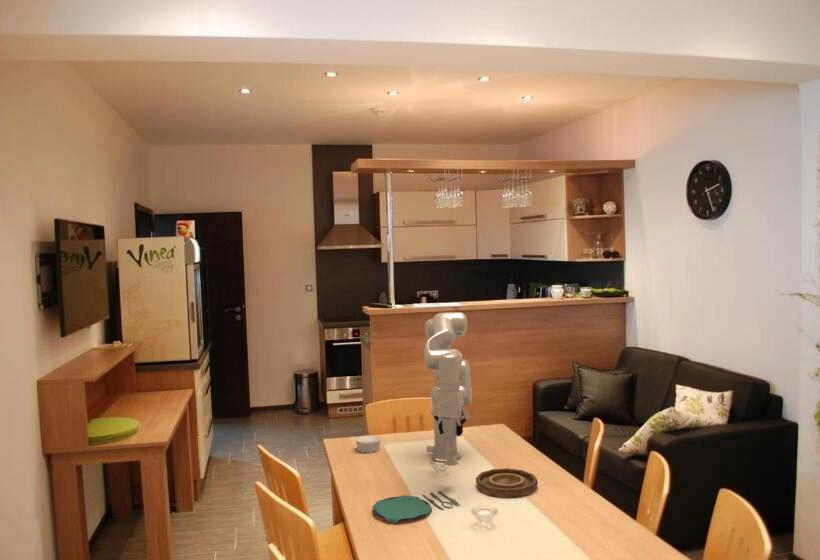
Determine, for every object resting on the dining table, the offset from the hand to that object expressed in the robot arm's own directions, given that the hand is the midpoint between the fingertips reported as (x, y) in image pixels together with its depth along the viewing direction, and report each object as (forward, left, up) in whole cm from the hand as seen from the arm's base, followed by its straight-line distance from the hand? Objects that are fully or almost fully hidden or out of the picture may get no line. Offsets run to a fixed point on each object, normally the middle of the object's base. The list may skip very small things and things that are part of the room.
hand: (450, 433), depth 238 cm
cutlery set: (-5, -22, -21) cm, 31 cm away
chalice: (0, 0, -11) cm, 11 cm away
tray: (+18, +8, -21) cm, 29 cm away
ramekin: (-53, +29, -21) cm, 64 cm away
